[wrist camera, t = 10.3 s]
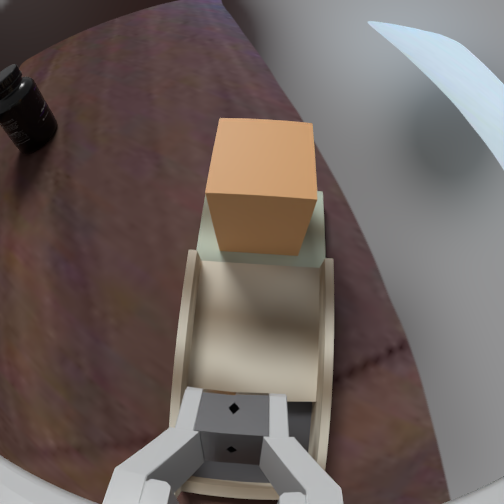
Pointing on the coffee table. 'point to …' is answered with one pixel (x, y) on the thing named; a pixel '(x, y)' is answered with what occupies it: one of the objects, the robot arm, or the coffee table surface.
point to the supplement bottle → (24, 111)
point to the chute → (258, 343)
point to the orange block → (262, 185)
